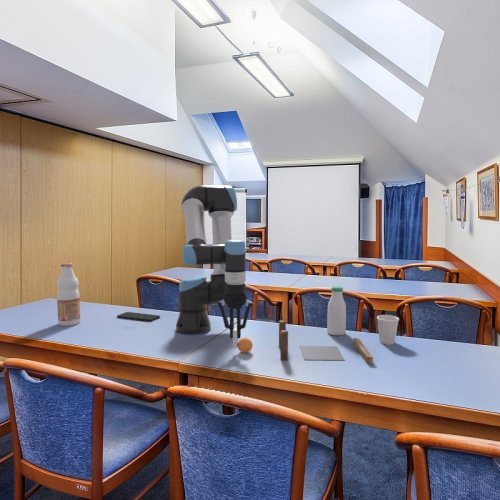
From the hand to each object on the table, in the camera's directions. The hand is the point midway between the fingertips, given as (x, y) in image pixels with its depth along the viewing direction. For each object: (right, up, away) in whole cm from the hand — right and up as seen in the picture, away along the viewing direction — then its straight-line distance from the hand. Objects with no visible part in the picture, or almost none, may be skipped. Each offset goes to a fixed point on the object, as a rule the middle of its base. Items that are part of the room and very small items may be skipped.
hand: (235, 346), depth 144 cm
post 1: (+18, -2, +7) cm, 19 cm away
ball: (+3, 0, +1) cm, 4 cm away
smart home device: (-49, +1, +48) cm, 69 cm away
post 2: (+17, -3, -6) cm, 18 cm away
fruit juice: (-78, +1, +38) cm, 87 cm away
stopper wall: (+46, -2, 0) cm, 47 cm away
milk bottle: (+42, 0, +24) cm, 48 cm away
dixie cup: (+60, -1, +12) cm, 61 cm away
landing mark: (+31, -2, 0) cm, 32 cm away
